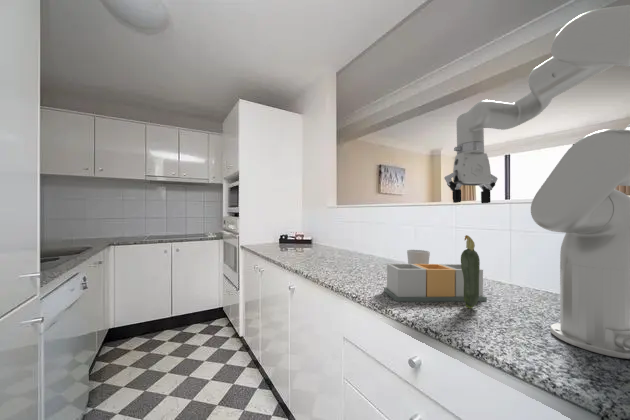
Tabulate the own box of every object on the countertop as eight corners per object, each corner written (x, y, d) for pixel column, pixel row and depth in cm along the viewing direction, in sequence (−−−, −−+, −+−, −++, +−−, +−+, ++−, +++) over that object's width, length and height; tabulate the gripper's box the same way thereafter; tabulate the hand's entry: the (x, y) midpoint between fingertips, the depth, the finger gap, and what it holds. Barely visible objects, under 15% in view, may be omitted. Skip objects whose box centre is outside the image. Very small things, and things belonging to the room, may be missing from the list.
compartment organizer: (486, 301, 73) (486, 270, 73) (396, 301, 71) (396, 269, 71) (463, 290, 83) (463, 263, 83) (383, 291, 81) (384, 263, 81)
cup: (425, 280, 96) (425, 250, 96) (432, 286, 88) (433, 253, 88) (404, 279, 97) (404, 249, 97) (410, 285, 89) (410, 252, 89)
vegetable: (483, 312, 64) (483, 236, 65) (466, 312, 64) (467, 235, 65) (472, 306, 69) (473, 235, 69) (457, 305, 69) (457, 234, 69)
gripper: (452, 146, 76) (453, 201, 75) (504, 148, 77) (506, 202, 76) (438, 153, 84) (439, 203, 82) (486, 155, 85) (488, 204, 84)
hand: (471, 202), depth 79 cm, fingers open, 9 cm apart
